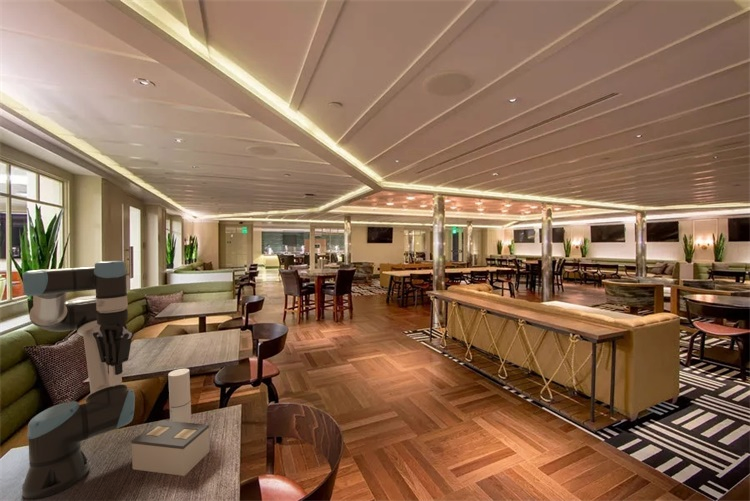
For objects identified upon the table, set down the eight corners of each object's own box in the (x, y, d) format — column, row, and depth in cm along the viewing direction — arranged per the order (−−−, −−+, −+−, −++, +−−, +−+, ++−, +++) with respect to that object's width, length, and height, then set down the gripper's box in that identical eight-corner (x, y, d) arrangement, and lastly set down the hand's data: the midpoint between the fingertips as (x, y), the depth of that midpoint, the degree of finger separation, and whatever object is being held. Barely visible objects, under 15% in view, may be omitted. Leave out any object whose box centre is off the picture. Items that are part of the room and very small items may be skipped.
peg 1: (146, 457, 109) (145, 434, 109) (158, 447, 114) (158, 426, 113) (159, 458, 108) (158, 436, 108) (170, 448, 113) (169, 427, 113)
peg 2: (174, 460, 107) (173, 437, 107) (185, 450, 112) (184, 428, 112) (186, 461, 106) (186, 438, 106) (197, 452, 111) (196, 430, 111)
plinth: (132, 469, 106) (131, 440, 105) (162, 446, 118) (161, 420, 117) (184, 476, 102) (183, 446, 102) (209, 451, 114) (208, 424, 114)
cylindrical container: (181, 439, 121) (179, 376, 120) (166, 437, 123) (163, 375, 122) (195, 428, 128) (193, 369, 127) (181, 427, 130) (178, 367, 129)
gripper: (82, 312, 95) (86, 388, 96) (118, 313, 93) (121, 391, 94) (107, 307, 102) (110, 377, 103) (141, 308, 100) (144, 380, 101)
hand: (115, 384), depth 98 cm, fingers closed
